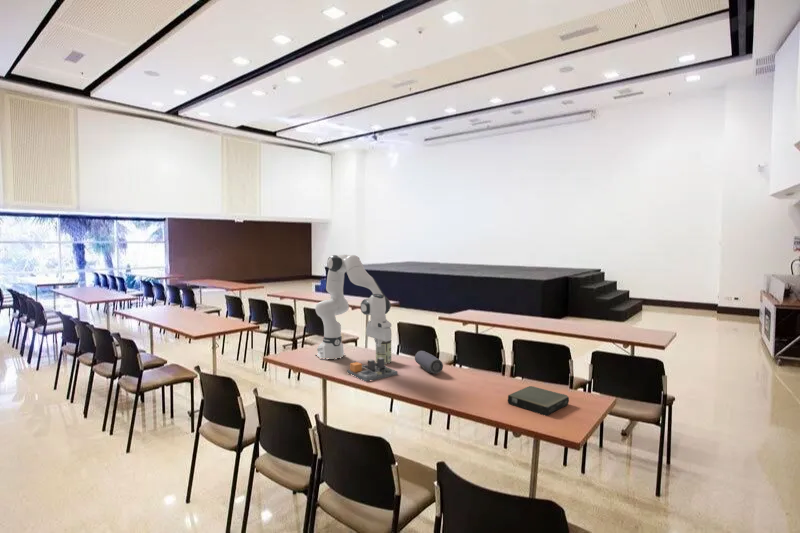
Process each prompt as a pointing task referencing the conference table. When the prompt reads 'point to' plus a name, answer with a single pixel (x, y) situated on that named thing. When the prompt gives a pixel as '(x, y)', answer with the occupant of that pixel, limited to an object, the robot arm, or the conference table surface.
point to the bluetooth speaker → (428, 362)
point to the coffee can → (384, 351)
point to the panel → (373, 373)
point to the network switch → (538, 400)
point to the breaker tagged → (371, 364)
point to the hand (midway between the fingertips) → (378, 346)
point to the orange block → (355, 367)
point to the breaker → (380, 362)
